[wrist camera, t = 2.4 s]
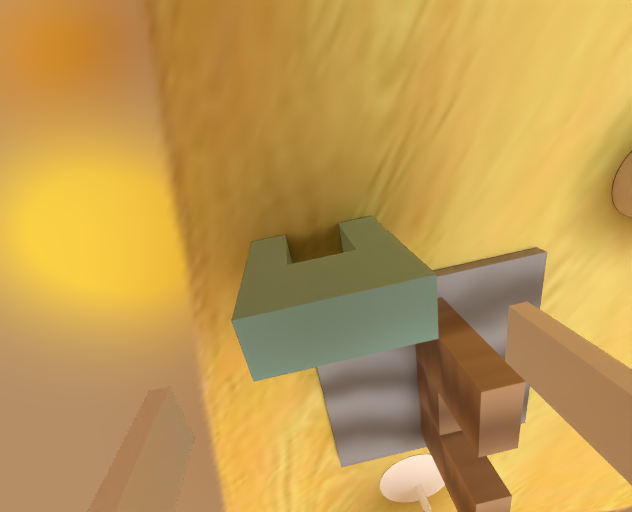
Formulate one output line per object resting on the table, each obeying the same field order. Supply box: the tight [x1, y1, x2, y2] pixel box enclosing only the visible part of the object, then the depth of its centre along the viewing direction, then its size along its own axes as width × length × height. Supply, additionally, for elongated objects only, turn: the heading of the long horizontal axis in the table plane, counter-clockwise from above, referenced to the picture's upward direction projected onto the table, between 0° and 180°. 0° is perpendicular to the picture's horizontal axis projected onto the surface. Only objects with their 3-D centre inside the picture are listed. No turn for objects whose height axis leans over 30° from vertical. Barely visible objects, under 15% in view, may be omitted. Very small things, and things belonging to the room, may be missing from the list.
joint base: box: [317, 248, 547, 512], centre depth 24 cm, size 20×20×10 cm
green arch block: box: [231, 216, 439, 381], centre depth 18 cm, size 4×9×10 cm, turn 101°
